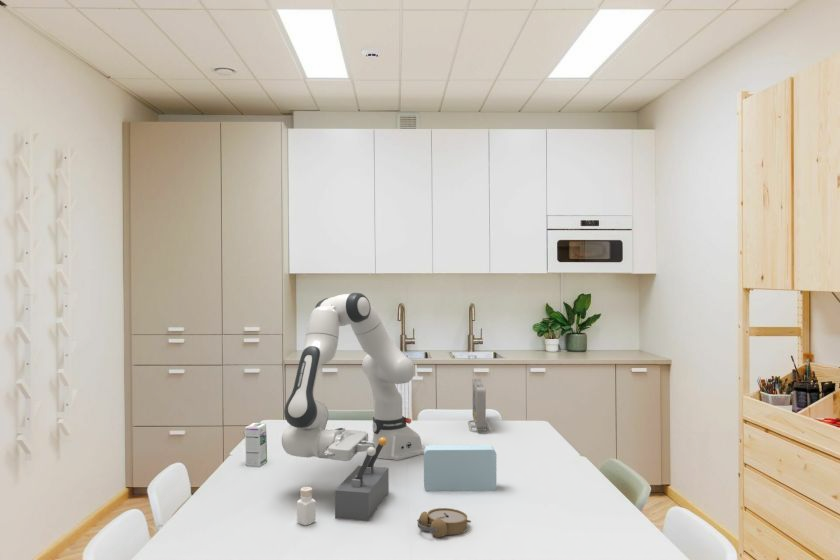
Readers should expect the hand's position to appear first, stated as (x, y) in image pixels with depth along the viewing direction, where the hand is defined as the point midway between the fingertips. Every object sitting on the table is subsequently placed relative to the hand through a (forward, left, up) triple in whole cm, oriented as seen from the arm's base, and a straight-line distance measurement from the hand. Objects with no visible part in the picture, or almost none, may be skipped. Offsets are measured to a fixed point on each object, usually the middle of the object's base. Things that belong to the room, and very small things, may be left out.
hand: (374, 446), depth 182 cm
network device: (-76, -55, -16) cm, 95 cm away
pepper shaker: (+24, +7, -16) cm, 30 cm away
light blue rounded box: (-28, +5, -16) cm, 33 cm away
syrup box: (+25, -51, -16) cm, 59 cm away
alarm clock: (-8, +29, -16) cm, 34 cm away
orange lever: (+1, -1, -7) cm, 7 cm away
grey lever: (+8, +7, -7) cm, 13 cm away
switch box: (+5, +3, -16) cm, 17 cm away
